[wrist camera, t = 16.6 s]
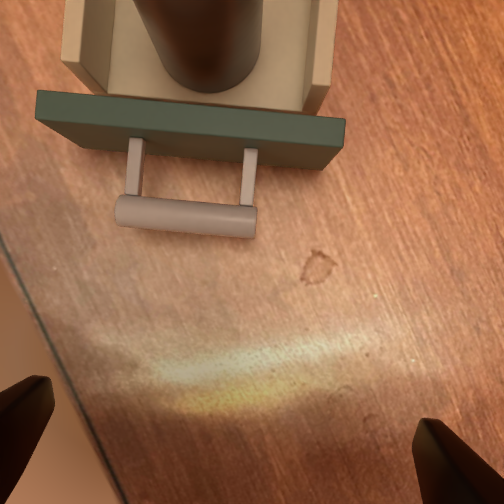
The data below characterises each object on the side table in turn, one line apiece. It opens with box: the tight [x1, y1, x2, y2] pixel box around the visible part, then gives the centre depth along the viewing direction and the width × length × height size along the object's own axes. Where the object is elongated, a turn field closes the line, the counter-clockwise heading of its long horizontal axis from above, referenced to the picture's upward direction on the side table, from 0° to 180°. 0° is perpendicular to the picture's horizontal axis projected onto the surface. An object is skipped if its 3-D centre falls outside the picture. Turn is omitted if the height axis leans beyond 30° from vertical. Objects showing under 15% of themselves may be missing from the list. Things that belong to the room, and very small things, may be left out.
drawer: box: [35, 0, 346, 239], centre depth 17 cm, size 16×12×4 cm
